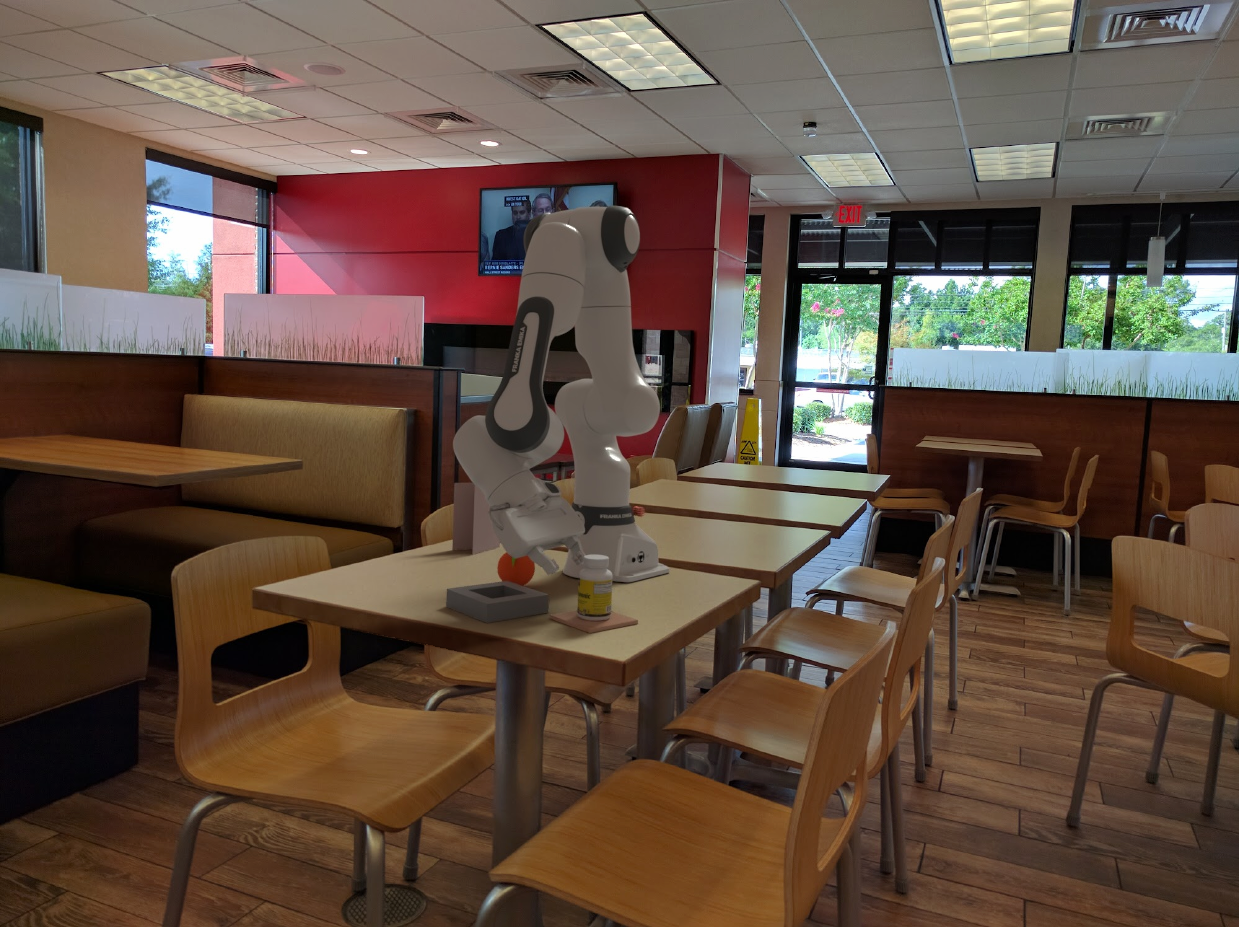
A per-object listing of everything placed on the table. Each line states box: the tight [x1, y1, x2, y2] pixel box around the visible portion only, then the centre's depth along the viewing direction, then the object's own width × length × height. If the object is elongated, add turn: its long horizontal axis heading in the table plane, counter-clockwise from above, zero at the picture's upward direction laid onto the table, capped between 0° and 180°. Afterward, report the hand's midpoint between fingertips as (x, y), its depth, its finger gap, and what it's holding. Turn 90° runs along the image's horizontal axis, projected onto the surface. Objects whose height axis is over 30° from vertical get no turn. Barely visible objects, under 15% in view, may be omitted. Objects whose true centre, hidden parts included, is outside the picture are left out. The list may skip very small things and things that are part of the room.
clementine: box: [496, 551, 536, 586], centre depth 160 cm, size 8×7×7 cm
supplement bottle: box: [576, 555, 613, 621], centre depth 139 cm, size 5×5×10 cm
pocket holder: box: [445, 580, 550, 624], centre depth 143 cm, size 12×12×3 cm
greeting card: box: [451, 482, 501, 556], centre depth 194 cm, size 11×7×15 cm, turn 122°
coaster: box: [549, 609, 639, 634], centre depth 139 cm, size 10×10×1 cm
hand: (569, 567), depth 141 cm, fingers open, 8 cm apart
